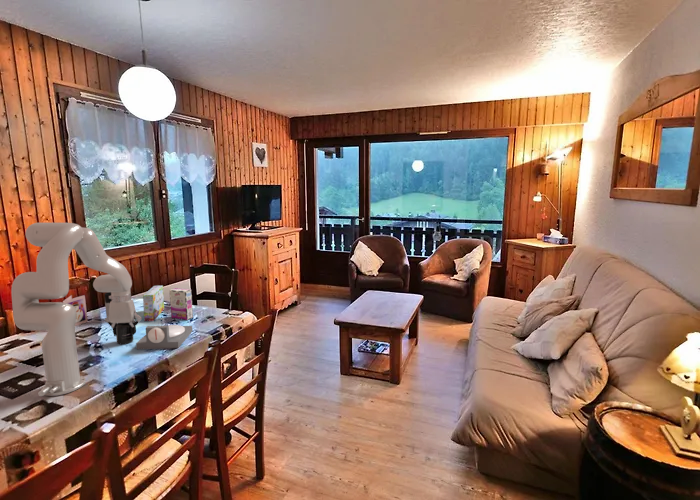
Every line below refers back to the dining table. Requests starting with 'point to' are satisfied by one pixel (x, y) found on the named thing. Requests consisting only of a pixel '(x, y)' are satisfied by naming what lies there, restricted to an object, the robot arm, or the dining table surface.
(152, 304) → the snack box
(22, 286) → the robot arm
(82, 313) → the greeting card
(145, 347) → the dial scale
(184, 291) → the candy bar box
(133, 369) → the dining table surface
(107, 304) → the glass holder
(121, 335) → the supplement bottle
